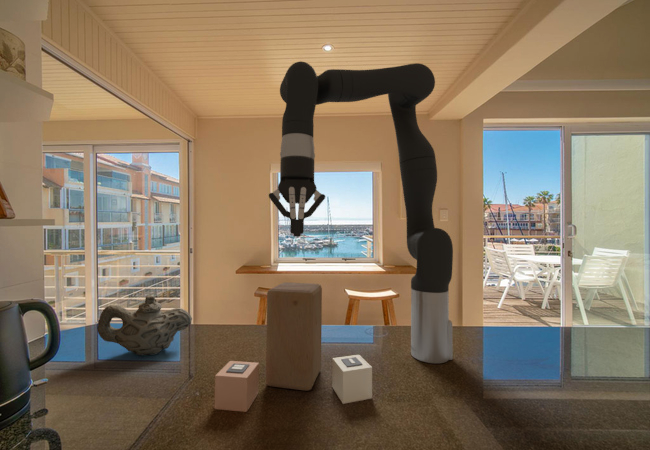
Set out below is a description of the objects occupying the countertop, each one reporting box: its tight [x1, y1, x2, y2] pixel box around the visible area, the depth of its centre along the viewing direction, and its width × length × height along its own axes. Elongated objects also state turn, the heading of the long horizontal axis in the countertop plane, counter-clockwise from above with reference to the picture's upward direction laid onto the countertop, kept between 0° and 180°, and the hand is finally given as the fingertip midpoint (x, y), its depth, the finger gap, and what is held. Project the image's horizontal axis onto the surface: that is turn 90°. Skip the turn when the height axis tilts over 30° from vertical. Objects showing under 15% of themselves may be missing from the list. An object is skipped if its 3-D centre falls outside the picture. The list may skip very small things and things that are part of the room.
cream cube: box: [331, 354, 373, 405], centre depth 57 cm, size 6×6×6 cm
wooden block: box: [265, 281, 323, 392], centre depth 63 cm, size 10×10×20 cm
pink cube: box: [214, 360, 260, 413], centre depth 54 cm, size 6×6×6 cm
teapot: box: [96, 295, 193, 356], centre depth 75 cm, size 21×12×15 cm, turn 115°
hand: (296, 236), depth 64 cm, fingers closed
